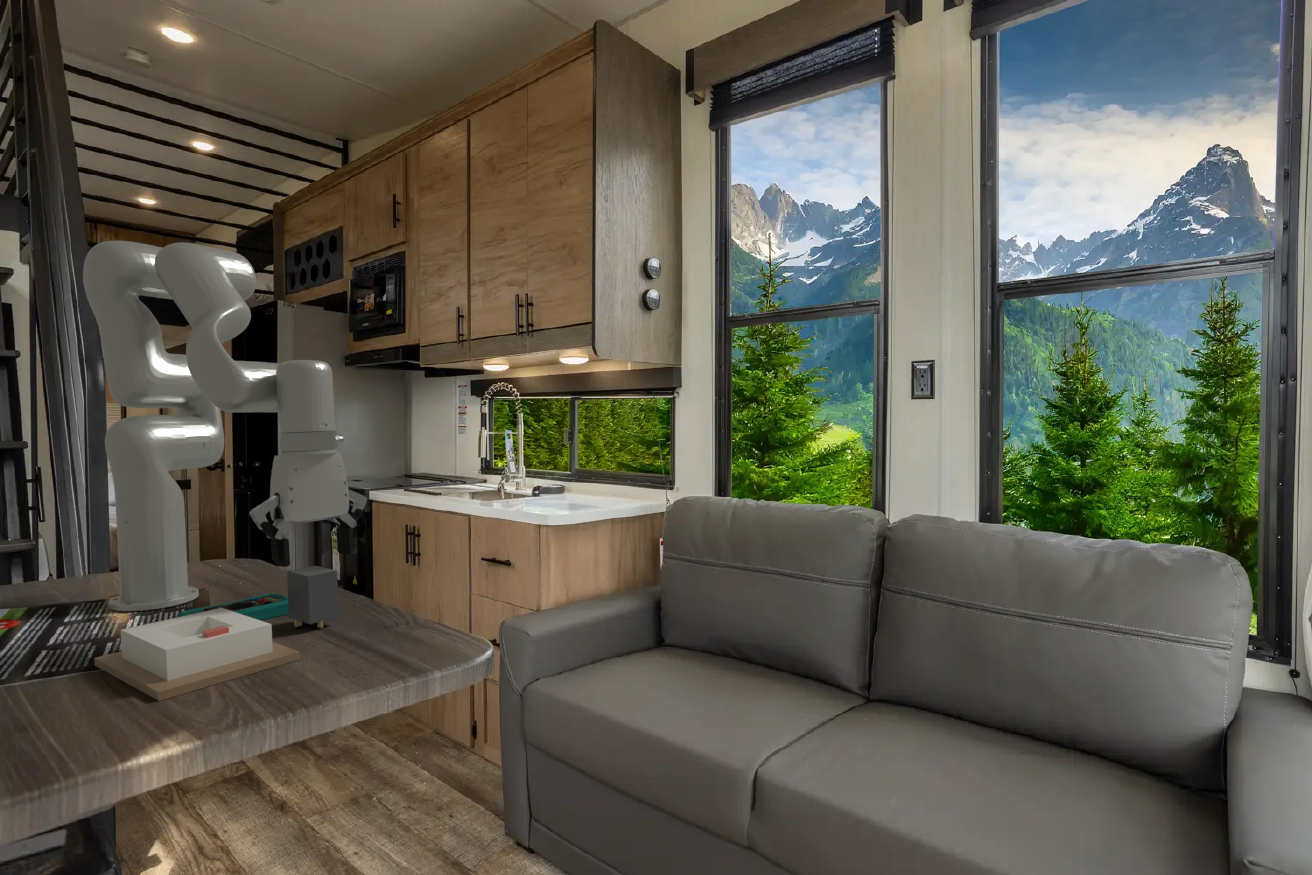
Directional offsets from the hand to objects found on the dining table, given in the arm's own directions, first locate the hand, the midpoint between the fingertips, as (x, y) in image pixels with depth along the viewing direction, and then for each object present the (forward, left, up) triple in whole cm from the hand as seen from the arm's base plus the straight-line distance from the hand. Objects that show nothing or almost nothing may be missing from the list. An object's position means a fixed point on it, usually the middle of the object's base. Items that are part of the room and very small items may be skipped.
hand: (314, 559), depth 108 cm
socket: (+2, -17, -10) cm, 20 cm away
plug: (-1, 0, -10) cm, 10 cm away
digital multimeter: (-14, -5, -11) cm, 18 cm away
